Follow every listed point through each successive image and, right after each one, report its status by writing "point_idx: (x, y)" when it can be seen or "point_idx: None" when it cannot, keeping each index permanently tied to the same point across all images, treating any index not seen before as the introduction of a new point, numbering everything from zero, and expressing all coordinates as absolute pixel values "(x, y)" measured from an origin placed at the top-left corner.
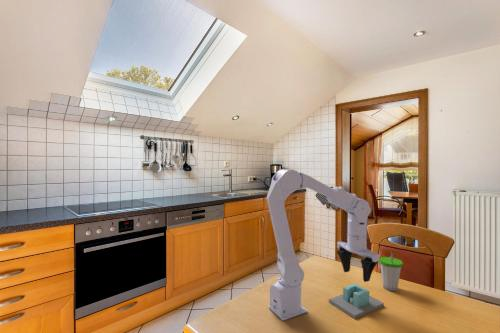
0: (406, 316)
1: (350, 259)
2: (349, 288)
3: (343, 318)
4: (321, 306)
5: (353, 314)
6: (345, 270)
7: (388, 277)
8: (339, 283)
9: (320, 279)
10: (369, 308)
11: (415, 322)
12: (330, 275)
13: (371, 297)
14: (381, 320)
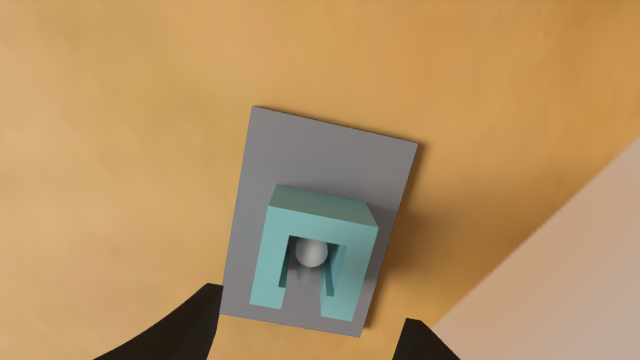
0: (516, 148)
1: (177, 351)
2: (281, 289)
3: (327, 353)
4: (221, 350)
5: (354, 334)
6: (211, 344)
7: None
8: (125, 85)
9: (20, 132)
10: (384, 246)
11: (553, 167)
12: (6, 19)
13: (351, 137)
14: (439, 260)
